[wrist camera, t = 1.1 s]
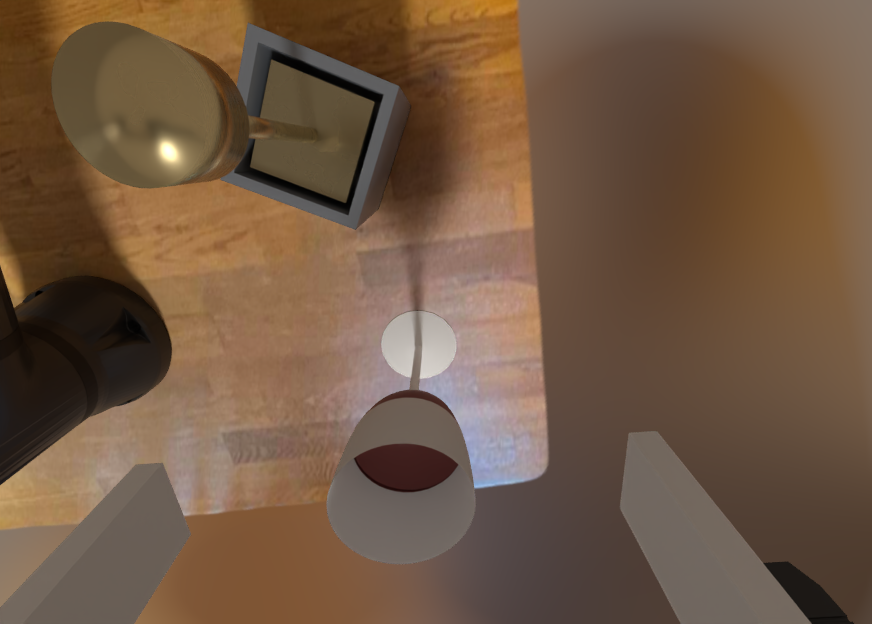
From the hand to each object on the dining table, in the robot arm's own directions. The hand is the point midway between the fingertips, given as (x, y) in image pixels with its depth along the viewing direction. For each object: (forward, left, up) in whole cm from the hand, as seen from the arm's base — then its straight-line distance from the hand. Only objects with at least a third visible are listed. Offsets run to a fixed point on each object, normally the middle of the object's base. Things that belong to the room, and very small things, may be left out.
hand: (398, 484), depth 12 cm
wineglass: (+3, -11, -33) cm, 35 cm away
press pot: (-12, +7, -33) cm, 36 cm away
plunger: (-11, +7, -23) cm, 26 cm away
